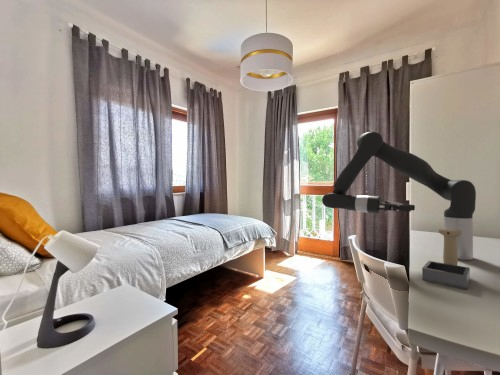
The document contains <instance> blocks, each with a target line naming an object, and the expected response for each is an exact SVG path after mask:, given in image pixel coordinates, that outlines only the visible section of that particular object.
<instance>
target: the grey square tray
mask: <svg viewBox="0 0 500 375" xmlns="http://www.w3.org/2000/svg"><path fill="white" fill-rule="evenodd" d="M421 271H422V272H421V274H422V275H421V277H422V281H425V282H430V283H433V282H434V284H438V283H439V285H442V284H443V286H447V287H451V286H452V288H455V287H457V289H460V288H461V289H460V290H464V289H465V291H467V290H468V288H469V284H470V282H471V268H470V267H468V266H462V265H458V264H457V265H451V264H445V263H444V262H439V261H434V260H433V261H432V260H428V261H427V262H426V263H425V264H424V266H422V268H421Z"/></svg>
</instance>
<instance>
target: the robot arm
mask: <svg viewBox="0 0 500 375" xmlns="http://www.w3.org/2000/svg"><path fill="white" fill-rule="evenodd" d="M356 145H357V149H356V151H355V153H354V155H353V157H352V158H351V160H350V161H349V162H348V163H347V165H346V166H345V167H344V168H343V169H342V171H341V172H340V174H339V175H338V176H337V178H336V180H335V181H334V182H333V189H332V192H328V193H327V192H326V193H325V194H324V195H323V196H322V198H321V202H322V205H323V206H324V207H326V208H329V209H342V210H343V209H344V210H346V211H347V210H348V211H355V212H360V213H368V214H376V215H379V214H381V212H382V210H383V211H385V212H409V213H410V212H412V211H415V210H416V209H415V208H416V206H415V205H414V204H406V203H402V202H398V201H395V202H394V201H389V200H386V201H384V202H383V198H382V196H378V195H366V194H365V195H364V194H363V195H356V194H347V192H348V191H349V189H350V188H351V186H352V185H353V183H354V182H355V180H356V179H357V177H358V176H359V174H360V173H361V171H362V170H363V169H364V167H365V166H366V164H367V163H368V162H369V161H370V159H371V158H373V157H374V158H377V159H378V160H380V161H383V162H384V163H385V164H387V165H388V166H390V167H391V168H393V169H394V170H395V171H397V172H399V173H401V174H402V175H404V176H406V177H407V178H410V179H411V180H413V181H415V182H417V183H419V184H421V185H422V186H425V187H426V188H428V189H430V190H432V192H434V193H436V194H437V195H438V196H440V197H441V198H442V199H444V200H447V201H450V205H449V207H448V208H447V209H445V210H443V211H444V212H443V222H444V226H443V227H444V228H443V229H454V230H461V231H462V235H460V236H457V237H456V244H457V255H458V256H457V257H458V258H457V259H458V260H461V261H462V260H463V261H470V260H471V261H472V260H474V228H473V227H474V226H473V221H474V219H473V215H474V213H475V211H476V201H477V198H476V197H477V190H476V187H475V185H474V183H473V182H472V181H469V180H466V179H450V178H447V177H445V176H443V175H441V174H439V173H438V172H436V171H435V170H434V168H433V167H432V166H431V165H430V164H429V163H428V162H427V161H426V160H424V159H422V158H421V157H419V156H417V155H416V154H413V153H411V152H409V151H406V150H403V149H400V148H398V147H395V146H392V145H390V144H389V143H387V142H385V141H384V139H383V137H382V134H380V133H379V132H377V131H367V132H364V133H362V134H360V135H359V137H358V138H357V140H356Z"/></svg>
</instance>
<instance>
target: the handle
mask: <svg viewBox="0 0 500 375" xmlns="http://www.w3.org/2000/svg"><path fill="white" fill-rule="evenodd" d="M438 233H439V234H440V235H442V236H443V249H442V250H443V253H442V259H443V263H445V264H451V265H457V266H458V264H459V262H458V260H459V259H457V258H458V257H457V256H458V255H457V244H456V237H457V236H460V235H462V231H461V230H454V229H444V228H438Z"/></svg>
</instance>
